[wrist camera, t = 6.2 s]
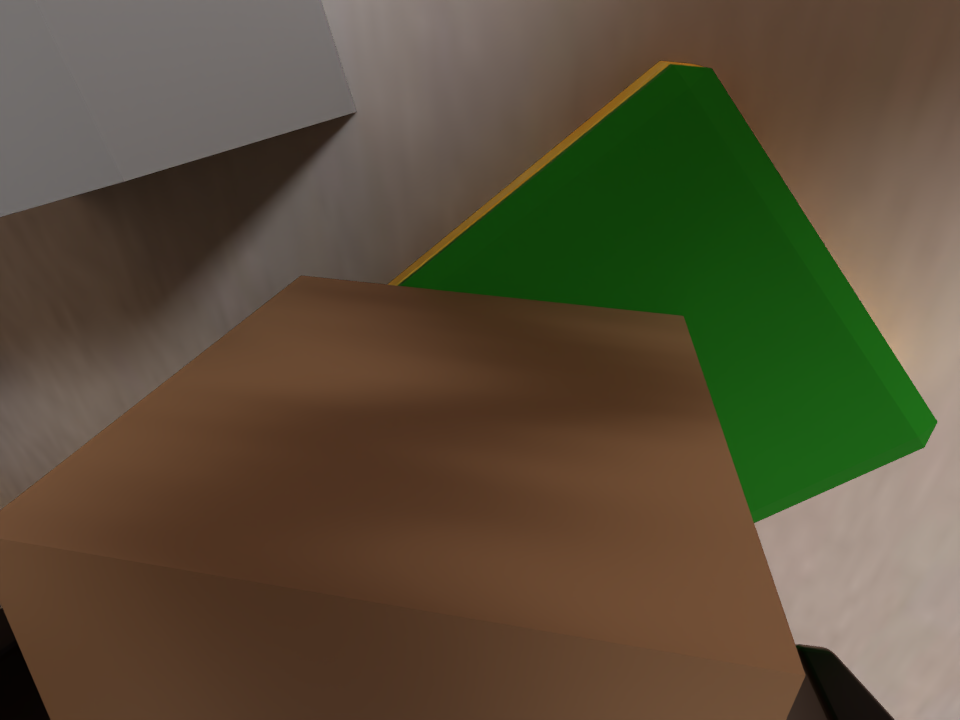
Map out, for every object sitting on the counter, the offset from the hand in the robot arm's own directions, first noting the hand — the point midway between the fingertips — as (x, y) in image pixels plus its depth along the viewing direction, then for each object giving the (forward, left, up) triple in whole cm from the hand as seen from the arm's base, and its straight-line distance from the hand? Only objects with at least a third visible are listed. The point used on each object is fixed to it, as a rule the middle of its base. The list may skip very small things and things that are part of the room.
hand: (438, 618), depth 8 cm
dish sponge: (0, 0, -6) cm, 6 cm away
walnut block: (0, 0, -3) cm, 3 cm away
